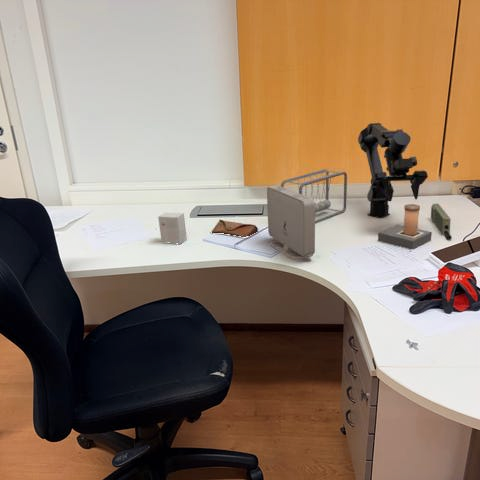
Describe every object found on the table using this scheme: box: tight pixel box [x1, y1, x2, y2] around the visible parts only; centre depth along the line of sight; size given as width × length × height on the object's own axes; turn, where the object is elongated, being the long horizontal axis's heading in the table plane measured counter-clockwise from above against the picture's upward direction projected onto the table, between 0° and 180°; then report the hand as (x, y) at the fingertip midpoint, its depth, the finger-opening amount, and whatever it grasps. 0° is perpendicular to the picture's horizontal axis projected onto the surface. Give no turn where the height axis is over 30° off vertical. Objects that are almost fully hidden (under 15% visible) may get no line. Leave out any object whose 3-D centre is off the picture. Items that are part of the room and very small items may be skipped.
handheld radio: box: [430, 202, 453, 240], centre depth 162 cm, size 7×3×25 cm
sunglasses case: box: [211, 219, 259, 237], centre depth 172 cm, size 18×7×7 cm
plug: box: [403, 203, 421, 237], centre depth 149 cm, size 5×5×13 cm
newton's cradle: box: [280, 169, 348, 224], centre depth 182 cm, size 30×10×18 cm, turn 133°
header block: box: [377, 224, 433, 250], centre depth 153 cm, size 13×12×4 cm
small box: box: [157, 212, 188, 245], centre depth 165 cm, size 8×6×10 cm
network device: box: [266, 185, 316, 260], centre depth 149 cm, size 26×9×20 cm, turn 23°
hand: (403, 199), depth 155 cm, fingers open, 9 cm apart
